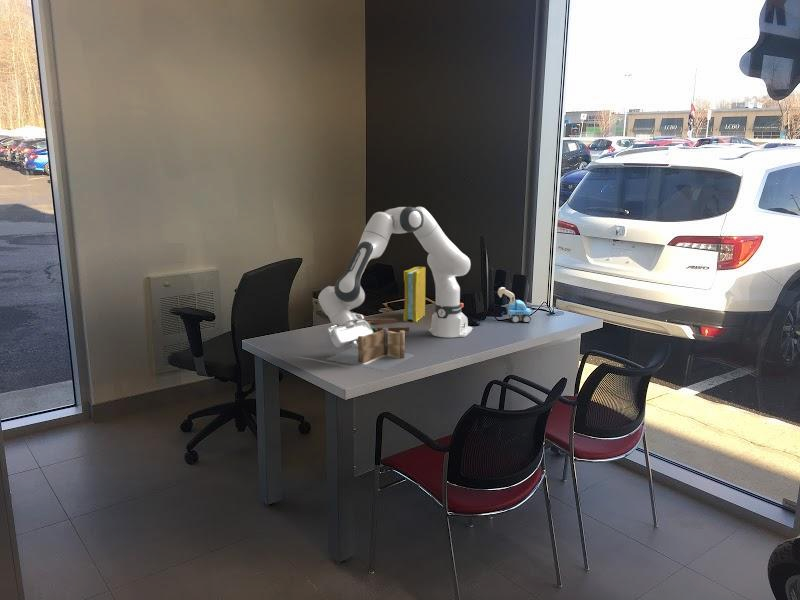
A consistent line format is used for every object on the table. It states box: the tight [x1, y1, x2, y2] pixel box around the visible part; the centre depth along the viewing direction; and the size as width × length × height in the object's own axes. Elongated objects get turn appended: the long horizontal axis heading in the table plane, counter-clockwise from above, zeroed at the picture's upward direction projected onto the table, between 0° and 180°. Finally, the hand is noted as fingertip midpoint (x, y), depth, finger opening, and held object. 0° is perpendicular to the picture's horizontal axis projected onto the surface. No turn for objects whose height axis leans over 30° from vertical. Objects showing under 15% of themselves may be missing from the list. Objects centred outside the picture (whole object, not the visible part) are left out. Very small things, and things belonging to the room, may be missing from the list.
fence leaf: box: [357, 330, 384, 363], centre depth 262 cm, size 15×2×10 cm, turn 143°
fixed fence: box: [382, 328, 406, 358], centre depth 267 cm, size 10×2×11 cm, turn 59°
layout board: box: [325, 347, 416, 372], centre depth 267 cm, size 24×28×1 cm
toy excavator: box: [497, 286, 532, 323], centre depth 327 cm, size 9×17×17 cm, turn 88°
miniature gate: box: [363, 318, 410, 333], centre depth 312 cm, size 27×6×30 cm
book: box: [403, 266, 426, 323], centre depth 332 cm, size 17×7×25 cm, turn 159°
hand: (362, 350), depth 260 cm, fingers closed, pressing on fence leaf
